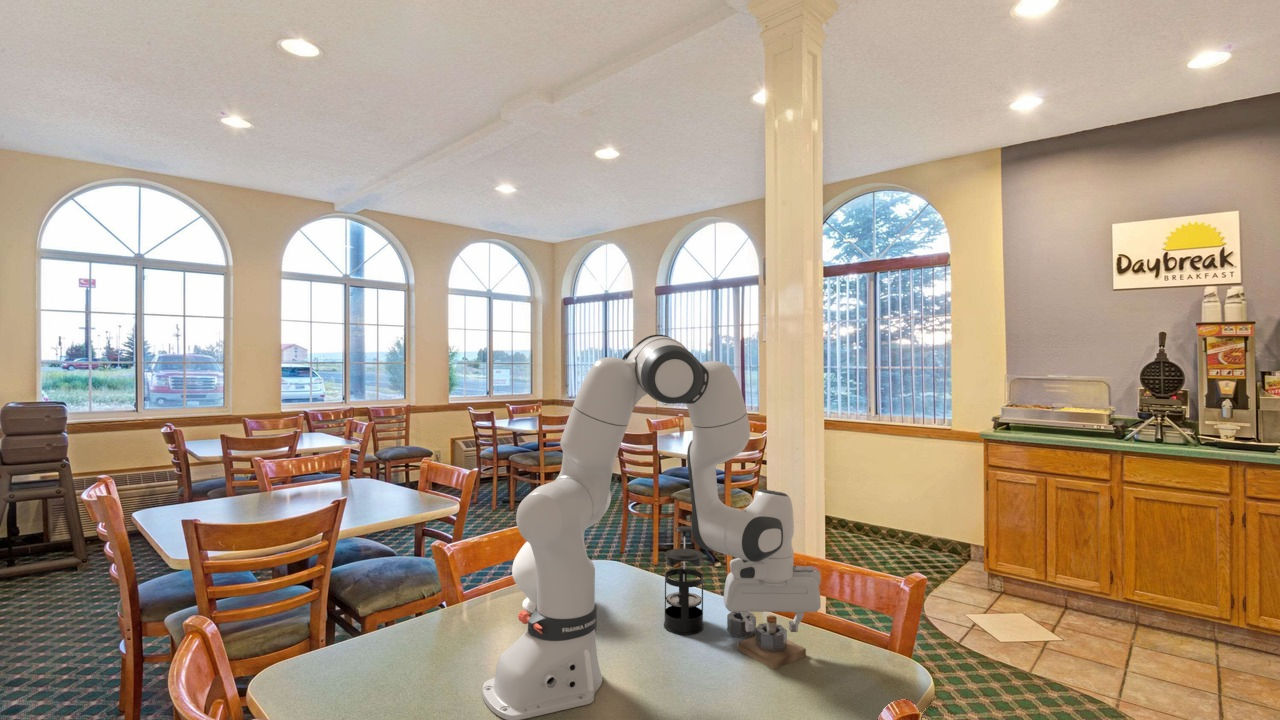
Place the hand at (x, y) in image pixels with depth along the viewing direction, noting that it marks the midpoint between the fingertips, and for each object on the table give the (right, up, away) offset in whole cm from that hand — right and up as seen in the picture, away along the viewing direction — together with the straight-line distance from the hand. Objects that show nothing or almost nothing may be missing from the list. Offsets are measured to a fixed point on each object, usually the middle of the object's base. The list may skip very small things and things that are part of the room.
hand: (771, 631), depth 128 cm
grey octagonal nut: (0, -3, 0) cm, 3 cm away
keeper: (0, -5, 0) cm, 5 cm away
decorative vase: (-52, -5, +25) cm, 57 cm away
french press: (-18, -5, +13) cm, 23 cm away
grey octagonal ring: (-5, -5, +10) cm, 12 cm away
